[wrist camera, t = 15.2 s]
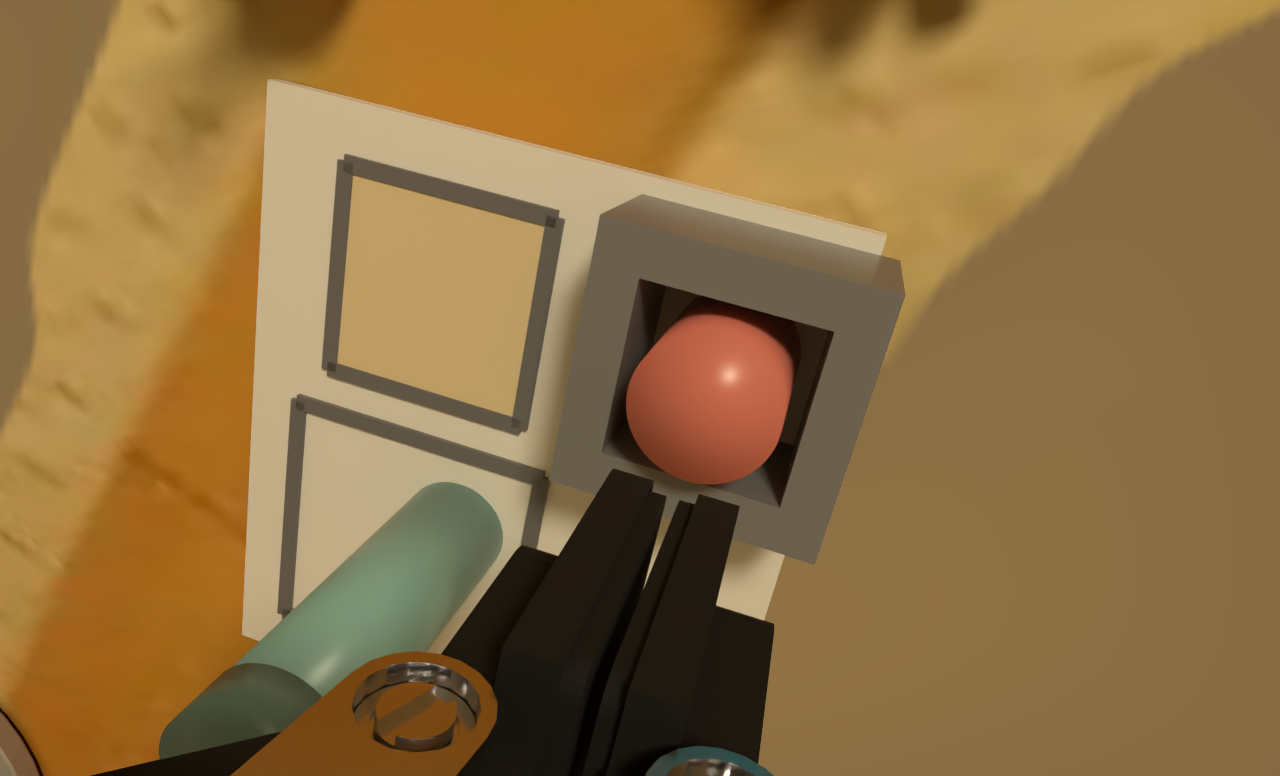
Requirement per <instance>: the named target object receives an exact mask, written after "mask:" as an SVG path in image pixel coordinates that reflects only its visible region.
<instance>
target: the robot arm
mask: <svg viewBox="0 0 1280 776" xmlns="http://www.w3.org/2000/svg"><path fill="white" fill-rule="evenodd" d="M653 485H654V480H651V479H648V478H644V477H641V476H638V475H634V474H631V473H627V472H624V471H621V470H617V469H614V468H613V469H612V470H611V471H610V473H609V475H608V476H607V478H606V480H605V481H604V483H603V484H602V486H601V488H600V489H599V491H598V492H597V494H596V496H595V497H594V499H593V501H592V502H591V504H590V505H589V507H588V509H587V510H586V512H585V513H584V515H583V517H582V518H581V520H580V522H579V523H578V525H577V526H576V528H575V530H574V531H573V533H572V535H571V536H570V538H569V539H568V541H567V543H566V544H565V546H564V547H563V549H562V551H561V552H560V554H559V556H557V555H554V554H551V553H547V552H544V551H541V550H538V549H535V548H532V547H528V546H525V545H521V546H520V547H519V548H518V549H517V550H516V551H515V552H514V554H513V555H512V556H511V558H510V559H509V560H508V562H507V563H506V565H505V566H504V567H503V569H502V570H501V572H500V573H499V574H498V576H497V577H496V578H495V580H494V581H493V583H492V584H491V585H490V587H489V588H488V590H487V591H486V592H485V594H484V595H483V596H482V598H481V599H480V601H479V602H478V603H477V605H476V606H475V608H474V609H473V610H472V612H471V613H470V615H469V616H468V617H467V619H466V620H465V621H464V623H463V624H462V626H461V627H460V628H459V630H458V631H457V633H456V634H455V635H454V637H453V638H452V639H451V641H450V642H449V644H448V645H447V646H446V648H445V649H444V651H443V652H442V653H441V654H437V653H428V652H419V651H413V652H402V653H392V654H389V655H386V656H383V657H380V658H377V659H373V660H370V661H369V662H367V663H365V664H364V665H362V666H361V667H359V668H358V669H356V670H354V671H353V672H351V673H350V674H349V675H348V676H347V677H345V678H344V679H343V680H342V681H341V682H340V683H338V684H337V685H336V686H335V687H334V688H333V689H331V690H330V691H329V692H328V693H327V694H325V695H324V696H323V697H322V698H321V699H320V700H318V701H317V702H316V703H315V704H314V705H313V706H311V707H310V708H309V709H308V710H307V711H306V712H304V713H303V714H302V715H301V716H300V717H298V718H297V719H296V720H295V721H294V722H293V723H291V724H290V725H289V726H288V727H287V728H286V729H284V730H283V731H281V732H277V733H273V734H268V735H264V736H260V737H255V738H251V739H247V740H243V741H238V742H234V743H230V744H225V745H221V746H217V747H212V748H208V749H204V750H199V751H195V752H191V753H186V754H182V755H178V756H173V757H169V758H165V759H161V760H156V761H152V762H148V763H143V764H139V765H135V766H130V767H126V768H122V769H117V770H113V771H109V772H104V773H100V774H96V775H92V776H773V775H772V774H771V773H770V772H769V771H768V770H767V769H765V768H764V767H762V766H760V765H758V759H759V751H760V743H761V734H762V726H763V718H764V710H765V702H766V693H767V685H768V677H769V669H770V661H771V652H772V644H773V636H774V624H773V623H770V622H767V621H764V620H761V619H758V618H754V617H751V616H748V615H745V614H742V613H739V612H735V611H732V610H729V609H726V608H723V607H719V606H716V603H717V599H718V594H719V590H720V586H721V582H722V578H723V574H724V570H725V566H726V562H727V557H728V553H729V549H730V545H731V541H732V537H733V533H734V529H735V525H736V521H737V516H738V512H739V508H740V506H738V505H735V504H732V503H728V502H725V501H721V500H718V499H715V498H711V497H708V496H705V495H701V494H699V495H698V497H697V500H696V503H695V504H692V503H689V502H685V501H682V500H679V502H678V504H677V507H676V509H675V512H674V514H673V517H672V519H671V522H670V524H669V527H668V529H667V532H666V534H665V537H664V539H663V542H662V544H661V547H660V549H659V552H658V554H657V557H656V559H655V562H654V564H653V567H652V569H651V572H650V574H649V577H648V579H647V582H646V584H645V581H646V577H647V573H648V569H649V565H650V562H651V558H652V554H653V550H654V546H655V542H656V538H657V534H658V530H659V527H660V523H661V519H662V515H663V511H664V507H665V503H666V497H667V496H665V495H662V494H659V493H655V492H652V491H653ZM644 585H645V587H644ZM0 776H40V775H39V772H38V769H37V767H36V764H35V762H34V760H33V758H32V756H31V754H30V753H29V751H28V749H27V747H26V745H25V744H24V742H23V740H22V738H21V737H20V736H19V734H18V733H17V732H16V730H15V729H14V728H13V726H12V725H11V724H10V722H9V721H8V720H7V718H6V717H5V716H4V715H3V714H2V713H1V712H0Z"/></svg>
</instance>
